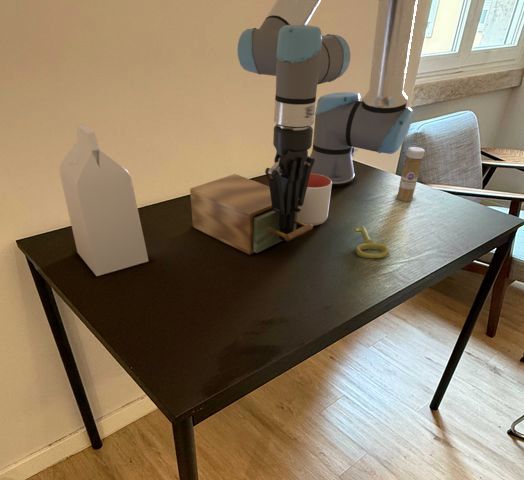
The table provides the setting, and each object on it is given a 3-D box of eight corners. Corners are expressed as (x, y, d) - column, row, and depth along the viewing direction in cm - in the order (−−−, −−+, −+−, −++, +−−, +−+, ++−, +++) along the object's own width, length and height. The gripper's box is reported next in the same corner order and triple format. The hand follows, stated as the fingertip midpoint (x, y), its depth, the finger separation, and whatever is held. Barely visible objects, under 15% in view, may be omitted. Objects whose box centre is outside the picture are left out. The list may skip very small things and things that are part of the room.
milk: (148, 261, 97) (128, 132, 81) (96, 276, 92) (63, 141, 75) (126, 239, 105) (104, 117, 88) (77, 252, 100) (43, 125, 83)
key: (362, 233, 111) (363, 225, 109) (391, 256, 102) (393, 247, 101) (336, 237, 108) (337, 229, 107) (364, 261, 100) (366, 253, 98)
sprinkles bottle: (399, 201, 127) (410, 151, 118) (394, 195, 130) (405, 146, 122) (415, 201, 127) (427, 151, 118) (409, 195, 131) (421, 146, 122)
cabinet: (291, 234, 109) (294, 195, 103) (249, 255, 101) (250, 214, 95) (235, 210, 119) (234, 173, 113) (192, 227, 111) (189, 188, 105)
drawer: (318, 243, 104) (321, 211, 99) (279, 263, 96) (281, 229, 91) (241, 211, 117) (241, 180, 112) (202, 226, 109) (199, 195, 104)
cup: (282, 223, 114) (285, 183, 107) (295, 208, 121) (298, 170, 114) (320, 230, 111) (325, 190, 105) (331, 215, 118) (336, 177, 112)
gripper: (286, 135, 80) (279, 255, 95) (329, 123, 87) (316, 236, 103) (255, 127, 84) (253, 243, 99) (300, 116, 91) (291, 225, 106)
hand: (285, 239), depth 101 cm, fingers closed
